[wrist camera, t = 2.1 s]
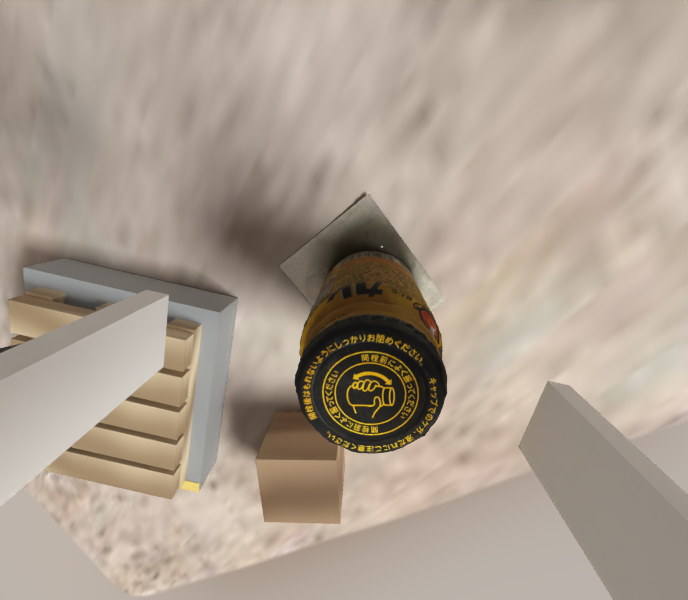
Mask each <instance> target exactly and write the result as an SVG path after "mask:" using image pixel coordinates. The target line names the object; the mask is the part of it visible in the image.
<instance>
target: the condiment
mask: <svg viewBox="0 0 688 600" xmlns="http://www.w3.org/2000/svg"><path fill="white" fill-rule="evenodd" d="M381 245H382V246H384V247H383V248H381V247H380V246H381ZM279 267H280V268H281V269H282V270H283V271H284V273H285V274H286V275H287V276H288V278H289V279H290V280H291V281H292V282H293V283H294V284H295V286H296V287H297V288H298V290H299V291H300V292H301V293H302V294H303V295H304V296H305V298H306V299H307V300H308V301H309V303H310V304H311V305H312V306H313V307H312V309H311V312H310V314H309V316H308V319H307V320H306V322H305V325H304V329H303V332H302V336H301V341H300V357H301V358H300V362H299V364H298V370H297V372H296V374H295V386H296V392H297V395H298V399H299V403H300V407H301V411H302V413H303V414H304V416H305V417H306V419H307V420H308V422H309V423H310V424H311V425H312V426H313V427H314V429H315V430H316V431H318V432H319V433H320V434H321V435H322V436H323V437H324V438H326V439H327V440H328V441H329V442H331V443H333V444H336V445H339V446H341V447H344V448H346V449H348V450H350V451H352V452H357V453H384V452H390V451H394V450H397V449H400V448H402V447H404V446H406V445H408V444H410V443H412V442H413V441H415V440H417V439H419V438H420V437H422V436H425V434H426V433H427V432H428V431H429V429H430V427H431V426H432V425H433V424H434V423H435V422H436V420H437V419H438V417H439V415H440V412H441V410H442V407H443V404H444V400H445V397H446V395H447V374H446V370H445V366H444V364H443V361H442V351H443V350H442V341H441V333H440V331H439V328H438V326H437V324H436V321H435V319H434V316H433V315H432V312H431V311H433V310H434V309H436V308H437V307H439V306H440V305H442V304H443V303H445V302H446V301H447V300H446V298H445V297H444V296H443V294H442V293H441V291H440V290H439V289H438V287H437V286H436V285H435V283H434V282H433V281H432V279H431V278H430V276H429V275H428V274H427V272H426V271H425V270H424V268H423V267H422V266H421V264H420V263H419V262H418V260H417V259H416V257H415V256H414V255H413V253H412V252H411V251H410V249H409V248H408V247H407V245H406V244H405V243H404V241H403V240H402V238H401V237H400V236H399V234H398V233H397V232H396V230H395V229H394V227H393V226H392V225H391V224H390V222H389V221H388V219H387V218H386V217H385V215H384V214H383V213H382V211H381V210H380V209H379V207H378V206H377V204H376V203H375V202H374V200H373V199H372V198H371V196H370V195H369V194H367V195H366V196H365V197H364V198H362V199H361V200H360V201H359V202H358V203H356V204H355V205H354V206H353V207H351V208H350V209H349V210H348V211H346V212H345V213H344V214H343V215H341V216H340V217H339V218H338V219H336V220H335V221H334V222H333V223H332V224H330V225H329V226H328V227H327V228H325V229H324V230H323V231H322V232H320V233H319V234H318V235H317V236H316V237H314V238H313V239H312V240H311V241H309V242H308V243H307V244H306V245H304V246H303V247H302V248H301V249H299V250H298V251H297V252H296V253H294V254H293V255H292V256H291V257H290V258H288V259H287V260H286V261H285V262H283V263H282V264H281V265H280V266H279ZM323 267H326V271H325V272H323ZM324 274H326V277H325V278H324V277H323V275H324Z"/></svg>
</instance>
